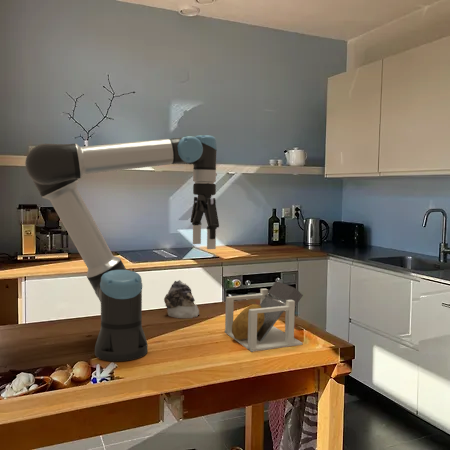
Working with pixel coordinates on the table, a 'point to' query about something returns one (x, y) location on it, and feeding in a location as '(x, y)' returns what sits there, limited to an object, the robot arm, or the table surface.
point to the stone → (180, 301)
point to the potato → (245, 323)
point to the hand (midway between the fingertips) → (203, 246)
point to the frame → (273, 337)
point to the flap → (276, 305)
